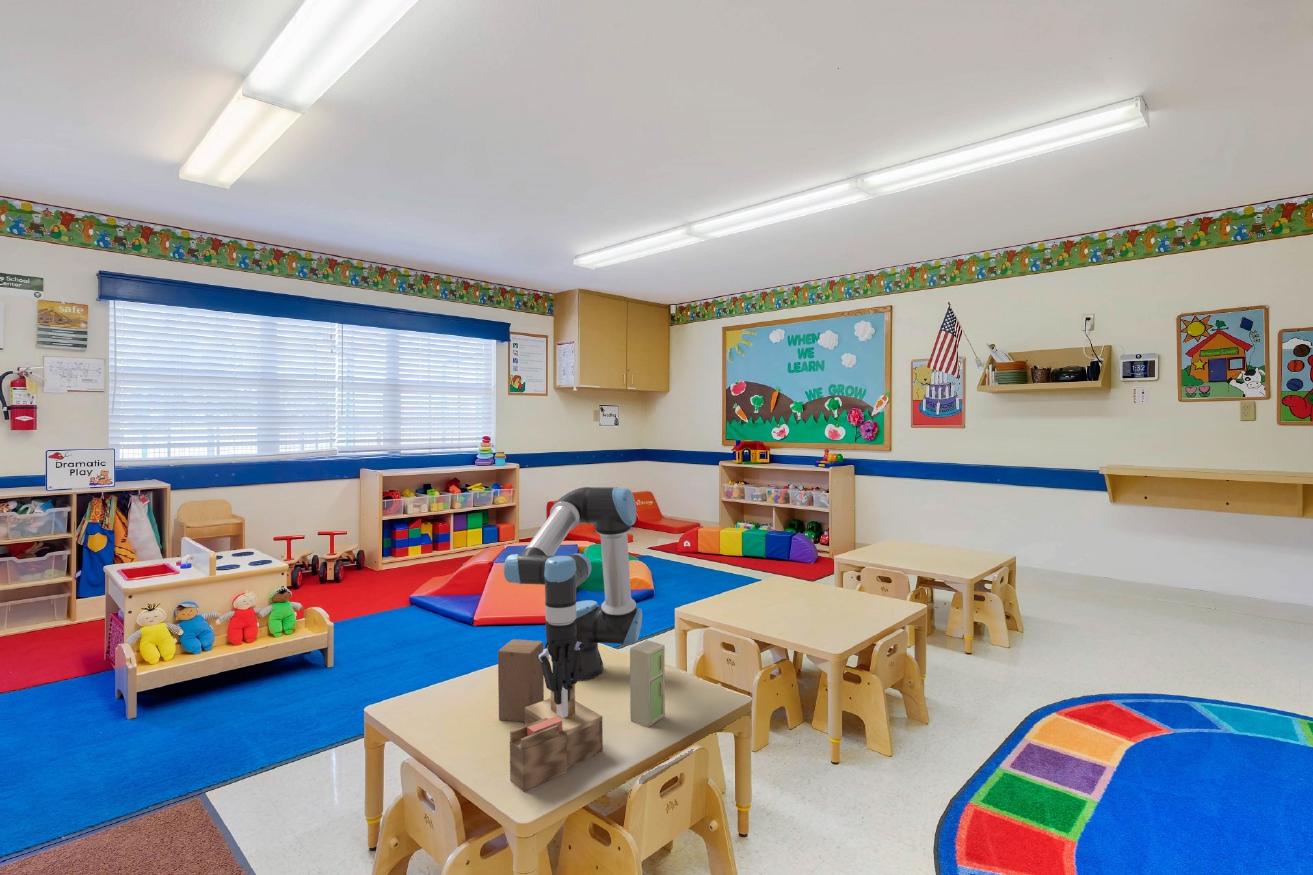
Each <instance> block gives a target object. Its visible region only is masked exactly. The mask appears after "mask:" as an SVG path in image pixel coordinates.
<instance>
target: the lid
mask: <svg viewBox="0 0 1313 875" xmlns="http://www.w3.org/2000/svg"><path fill="white" fill-rule="evenodd" d="M572 686H573V688H572V689H571V690H570V700H569V701H568V716H567V717H564V718H562V717H561V716H559V715H557V704H556V703H555V702H554V692H553V691H551V690H550V697H549V698H547V699H545V700H544V701H541V702H539V703H536V704H533V705H530V706H527V707H525V712H526V713H527V714H529V715H530V716H532V717H534V718H535V719H537V720H538V721H539V720H542V719H544V718H548V719H550V718H552V717H555V716H556V717H557V718H559V719H561V720H562V730H563V731H564V732H566V733H567V735H569V734H572V733H574V732H576V731H579V730H581V729H584V728H586V727H589V726H591V725H594V724H596V723H598V722H601V721H602V722H603V715H602V714H600V713H598V712H596V711H594V710H592V709H591V708H590V707H589V708H588V707H586V706H585V705H583V704H581V703H579V702H578V701H576V684H573V685H572ZM562 687H563V686H562Z"/></svg>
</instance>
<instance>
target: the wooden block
mask: <svg viewBox="0 0 1313 875" xmlns="http://www.w3.org/2000/svg"><path fill="white" fill-rule="evenodd" d="M543 651H544V642H543V641H541V640H531V639H529V640H528V639H515V638H514V639H511V640H510V641H509V642H507V643H505V645H503V646H502V647H500V649H499V650H498V652H497V667H498V668H497V674H498V675H497V676H498V679H497V680H498V682H497V683H498V719H499V720H500V721H510V722H521V723H522V722H523V723H525V707H527V706H530V705H533V704H536V703H539V702H541V701H544V699H545V697H544V695H545V693H544V692H545V689H544V684H545V683H544V682H545V679H544V675H543V671H542V667H541V663H540V661H539V660H538V658H537V654H538V653H540V654H541V653H542V652H543Z"/></svg>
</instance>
